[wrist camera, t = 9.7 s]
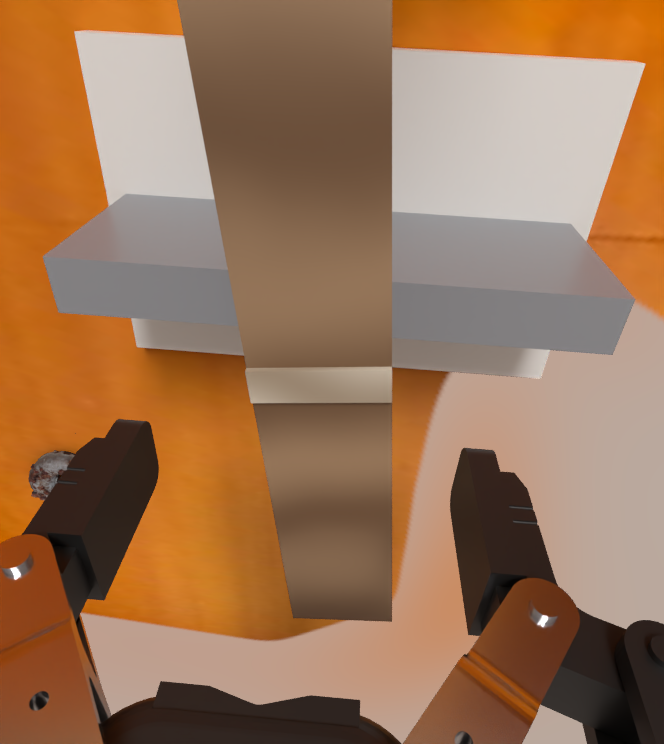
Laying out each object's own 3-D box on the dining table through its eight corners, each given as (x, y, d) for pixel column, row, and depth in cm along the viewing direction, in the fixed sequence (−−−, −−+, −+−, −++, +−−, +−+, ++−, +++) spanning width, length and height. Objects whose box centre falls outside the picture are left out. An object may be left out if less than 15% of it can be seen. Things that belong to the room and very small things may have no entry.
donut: (149, 494, 42) (139, 515, 41) (76, 516, 45) (64, 537, 43) (78, 421, 38) (64, 441, 36) (2, 450, 40) (-15, 469, 39)
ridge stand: (144, 336, 33) (74, 436, 25) (87, 30, 24) (-50, 44, 16) (535, 367, 32) (583, 479, 25) (634, 60, 23) (758, 90, 15)
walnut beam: (210, -158, 13) (129, -233, 9) (388, -178, 13) (392, -266, 9) (306, 527, 28) (292, 622, 24) (390, 529, 28) (392, 625, 23)
